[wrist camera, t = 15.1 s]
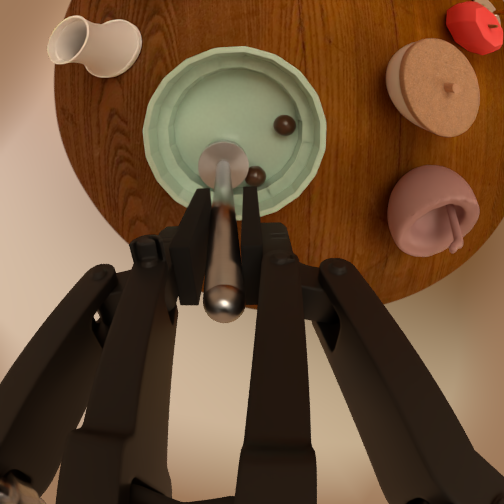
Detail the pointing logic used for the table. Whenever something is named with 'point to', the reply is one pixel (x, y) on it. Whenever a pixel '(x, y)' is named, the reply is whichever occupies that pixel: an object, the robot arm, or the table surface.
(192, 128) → the bowl
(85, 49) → the vase
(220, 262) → the peg on round base
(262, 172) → the bead
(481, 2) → the wineglass
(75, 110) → the table surface
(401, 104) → the trinket box
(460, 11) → the apple
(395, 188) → the mortar and pestle
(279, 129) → the bead
